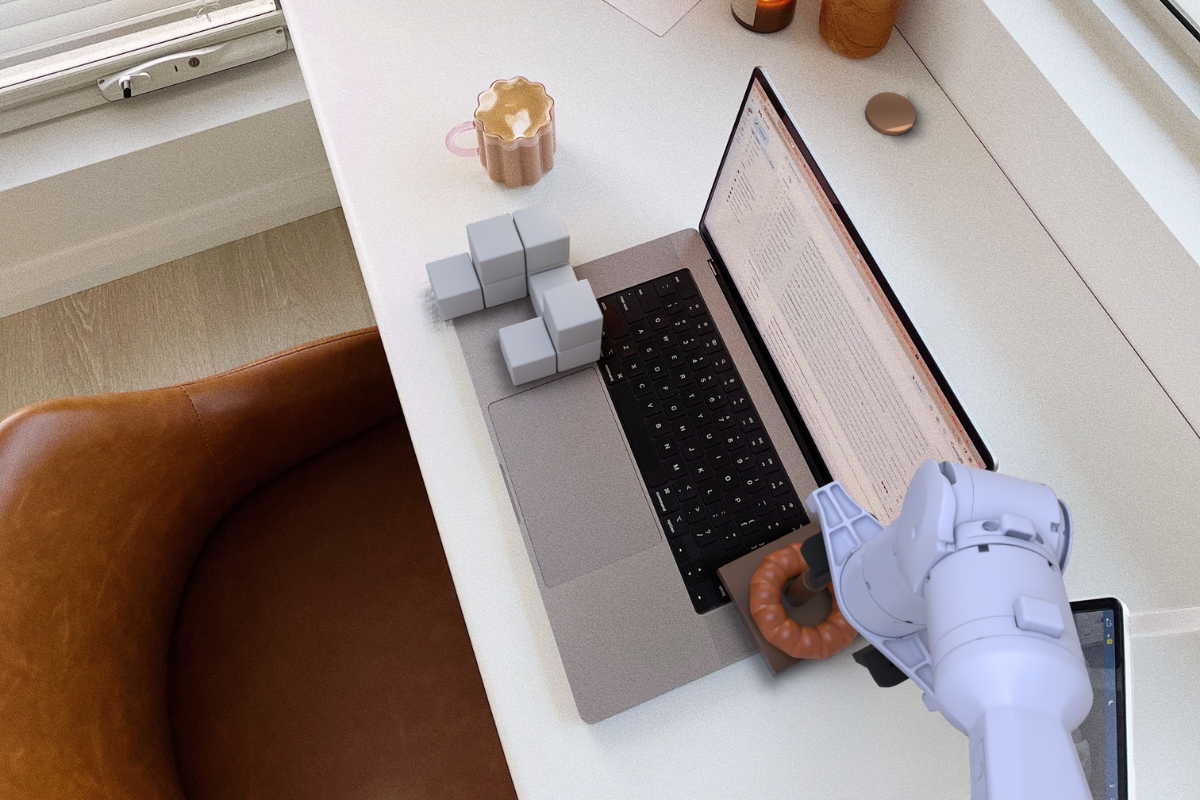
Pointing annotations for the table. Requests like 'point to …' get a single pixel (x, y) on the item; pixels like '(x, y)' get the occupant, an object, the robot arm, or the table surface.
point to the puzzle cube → (524, 290)
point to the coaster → (890, 113)
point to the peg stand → (796, 596)
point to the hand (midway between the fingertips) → (844, 615)
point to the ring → (775, 619)
